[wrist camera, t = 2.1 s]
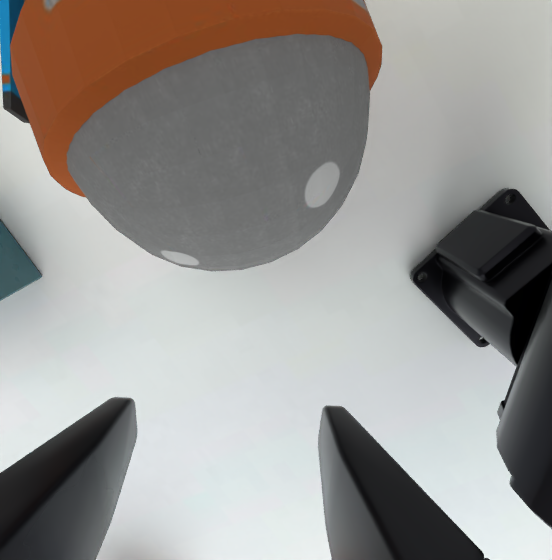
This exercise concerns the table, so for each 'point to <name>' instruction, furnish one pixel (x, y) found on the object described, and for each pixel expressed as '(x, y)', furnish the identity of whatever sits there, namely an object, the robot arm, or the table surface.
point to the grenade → (197, 115)
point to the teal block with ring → (14, 265)
